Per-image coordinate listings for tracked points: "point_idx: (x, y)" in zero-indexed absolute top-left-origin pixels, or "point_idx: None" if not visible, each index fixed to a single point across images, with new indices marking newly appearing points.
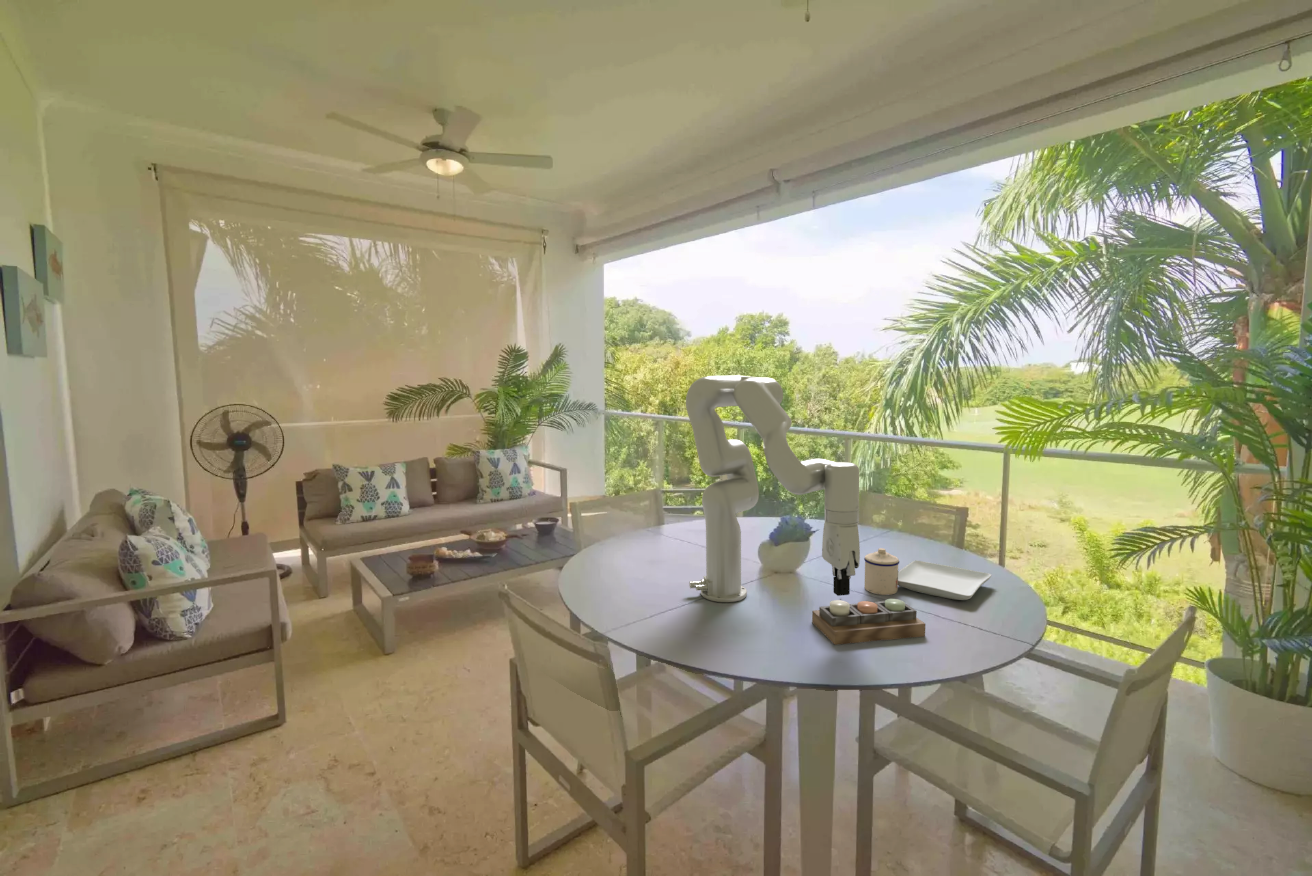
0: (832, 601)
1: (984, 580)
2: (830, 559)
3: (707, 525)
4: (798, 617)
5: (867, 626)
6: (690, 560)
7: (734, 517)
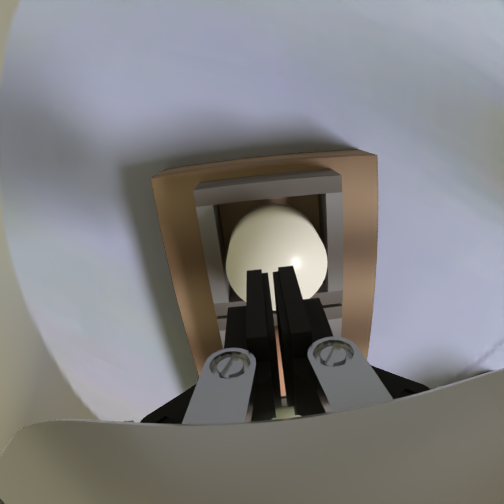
0: (313, 242)
1: None
2: (280, 489)
3: None
4: (407, 117)
5: (200, 312)
6: None
7: None
